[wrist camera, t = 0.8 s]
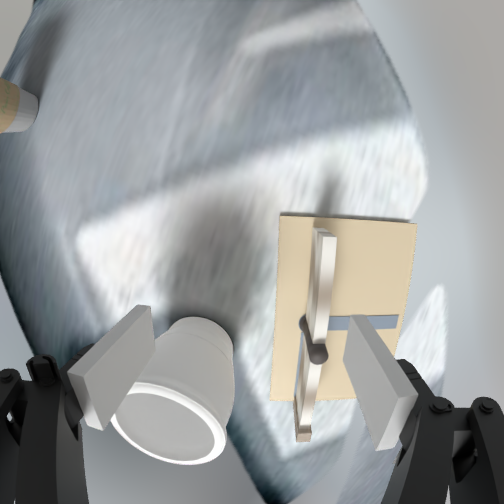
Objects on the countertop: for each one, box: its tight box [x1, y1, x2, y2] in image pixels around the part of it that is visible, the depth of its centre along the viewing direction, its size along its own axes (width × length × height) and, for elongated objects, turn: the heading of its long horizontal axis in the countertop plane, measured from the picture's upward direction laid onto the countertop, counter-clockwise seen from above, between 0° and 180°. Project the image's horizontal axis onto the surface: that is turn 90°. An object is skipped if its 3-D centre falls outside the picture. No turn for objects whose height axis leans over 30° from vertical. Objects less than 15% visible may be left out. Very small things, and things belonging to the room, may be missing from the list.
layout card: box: [270, 216, 417, 401], centre depth 32 cm, size 24×16×1 cm, turn 179°
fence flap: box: [302, 227, 337, 365], centre depth 27 cm, size 12×2×7 cm, turn 179°
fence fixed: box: [293, 315, 322, 442], centre depth 30 cm, size 14×2×7 cm, turn 179°
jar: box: [110, 317, 235, 465], centre depth 27 cm, size 11×10×15 cm
